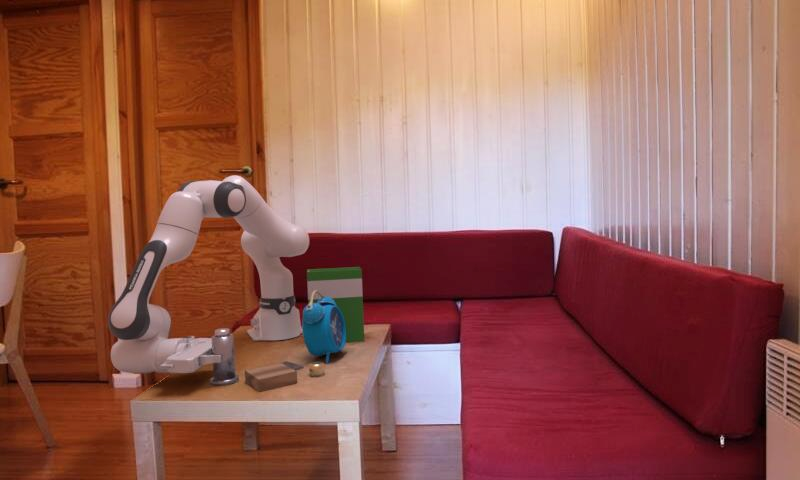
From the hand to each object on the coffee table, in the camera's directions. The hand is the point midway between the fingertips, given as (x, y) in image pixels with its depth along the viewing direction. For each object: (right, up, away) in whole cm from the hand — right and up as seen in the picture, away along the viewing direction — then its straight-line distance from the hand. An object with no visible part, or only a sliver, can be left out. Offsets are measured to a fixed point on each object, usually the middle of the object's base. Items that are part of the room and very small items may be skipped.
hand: (226, 354), depth 140 cm
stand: (+12, -7, -2) cm, 14 cm away
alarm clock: (+23, -5, +20) cm, 31 cm away
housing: (-1, -7, 0) cm, 7 cm away
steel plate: (+13, -7, +10) cm, 18 cm away
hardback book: (+24, -4, +40) cm, 47 cm away
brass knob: (+23, -6, +4) cm, 24 cm away
